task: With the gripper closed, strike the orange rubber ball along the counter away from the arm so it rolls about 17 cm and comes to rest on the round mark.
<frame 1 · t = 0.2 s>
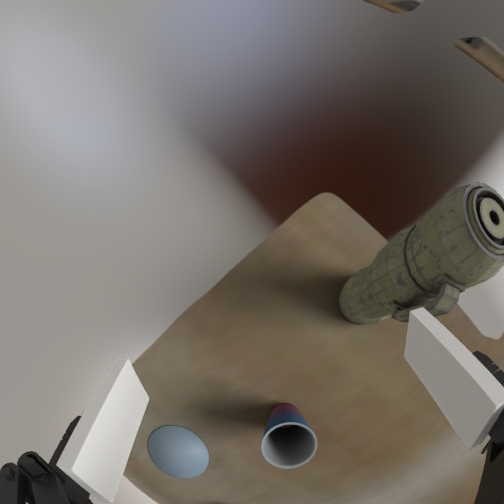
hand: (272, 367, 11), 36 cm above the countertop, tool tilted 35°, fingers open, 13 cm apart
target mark: (177, 453, 39), on the countertop
cup: (284, 415, 41), on the countertop
thermos: (361, 300, 46), on the countertop
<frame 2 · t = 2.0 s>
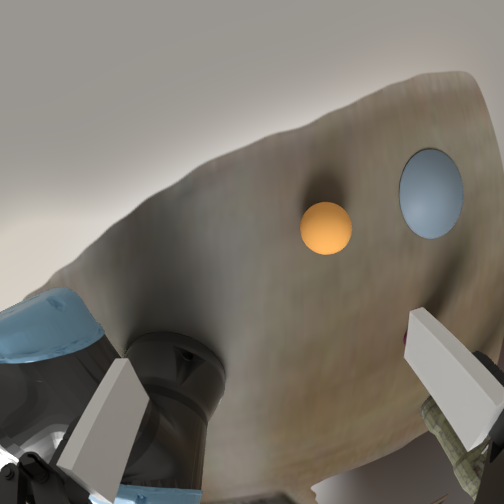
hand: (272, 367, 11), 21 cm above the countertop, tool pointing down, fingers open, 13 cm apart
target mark: (434, 194, 30), on the countertop
ball: (326, 228, 28), on the countertop
thermos: (436, 401, 43), on the countertop
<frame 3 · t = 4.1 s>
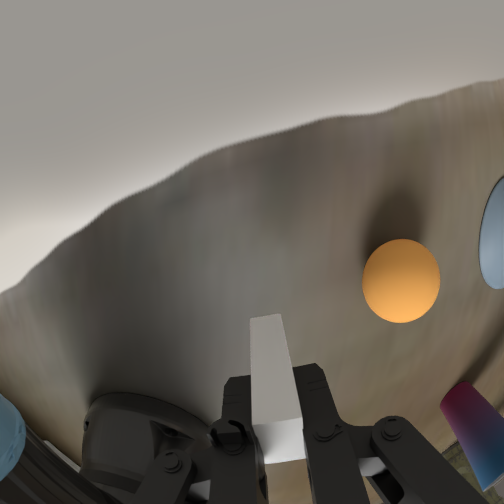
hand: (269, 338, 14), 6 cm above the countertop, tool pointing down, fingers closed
cup: (454, 395, 25), on the countertop
ball: (401, 280, 16), on the countertop
thermos: (449, 452, 31), on the countertop
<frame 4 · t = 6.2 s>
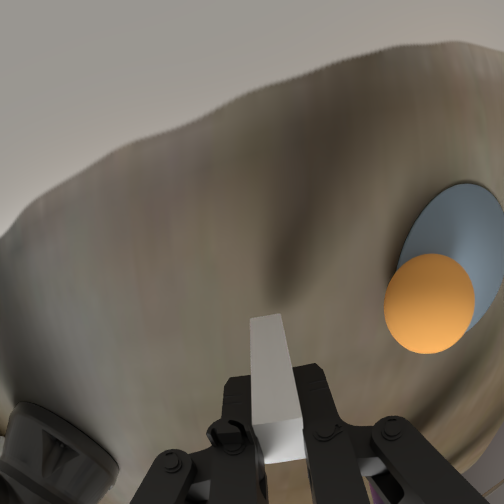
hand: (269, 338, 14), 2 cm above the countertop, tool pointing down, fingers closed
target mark: (461, 270, 15), on the countertop
ball: (430, 303, 13), on the countertop
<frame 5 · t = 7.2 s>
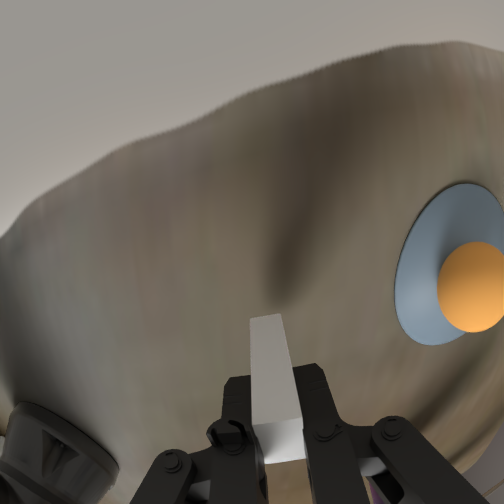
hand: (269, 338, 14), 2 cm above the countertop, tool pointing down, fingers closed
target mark: (461, 270, 15), on the countertop
ball: (475, 287, 13), on the countertop
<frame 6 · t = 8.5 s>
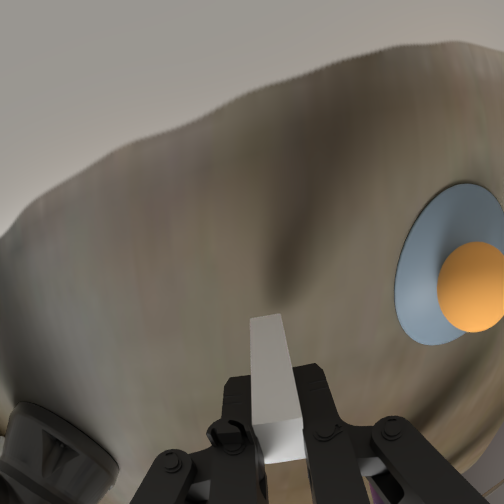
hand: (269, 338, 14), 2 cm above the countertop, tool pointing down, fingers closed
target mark: (461, 270, 15), on the countertop
ball: (475, 287, 13), on the countertop
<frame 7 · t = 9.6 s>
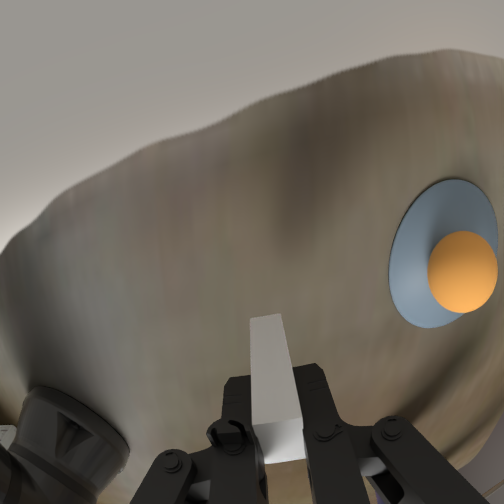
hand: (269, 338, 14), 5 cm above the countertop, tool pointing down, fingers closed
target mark: (451, 258, 17), on the countertop
supplement box: (27, 445, 30), on the countertop
ball: (462, 271, 15), on the countertop
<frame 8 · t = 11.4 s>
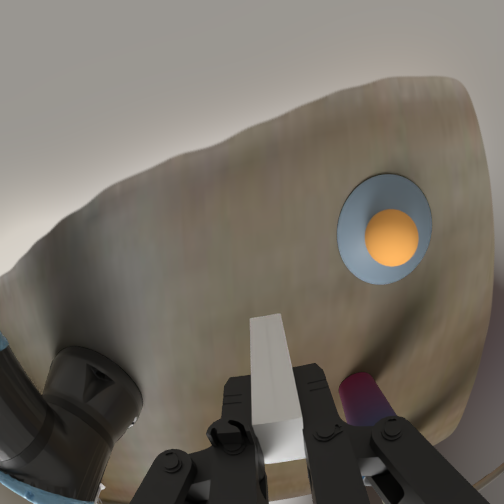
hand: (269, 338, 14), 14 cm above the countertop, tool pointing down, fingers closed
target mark: (388, 231, 27), on the countertop
cup: (355, 384, 33), on the countertop
french press: (92, 481, 46), on the countertop
ball: (391, 237, 24), on the countertop
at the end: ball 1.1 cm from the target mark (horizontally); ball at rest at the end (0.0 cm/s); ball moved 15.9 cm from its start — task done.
